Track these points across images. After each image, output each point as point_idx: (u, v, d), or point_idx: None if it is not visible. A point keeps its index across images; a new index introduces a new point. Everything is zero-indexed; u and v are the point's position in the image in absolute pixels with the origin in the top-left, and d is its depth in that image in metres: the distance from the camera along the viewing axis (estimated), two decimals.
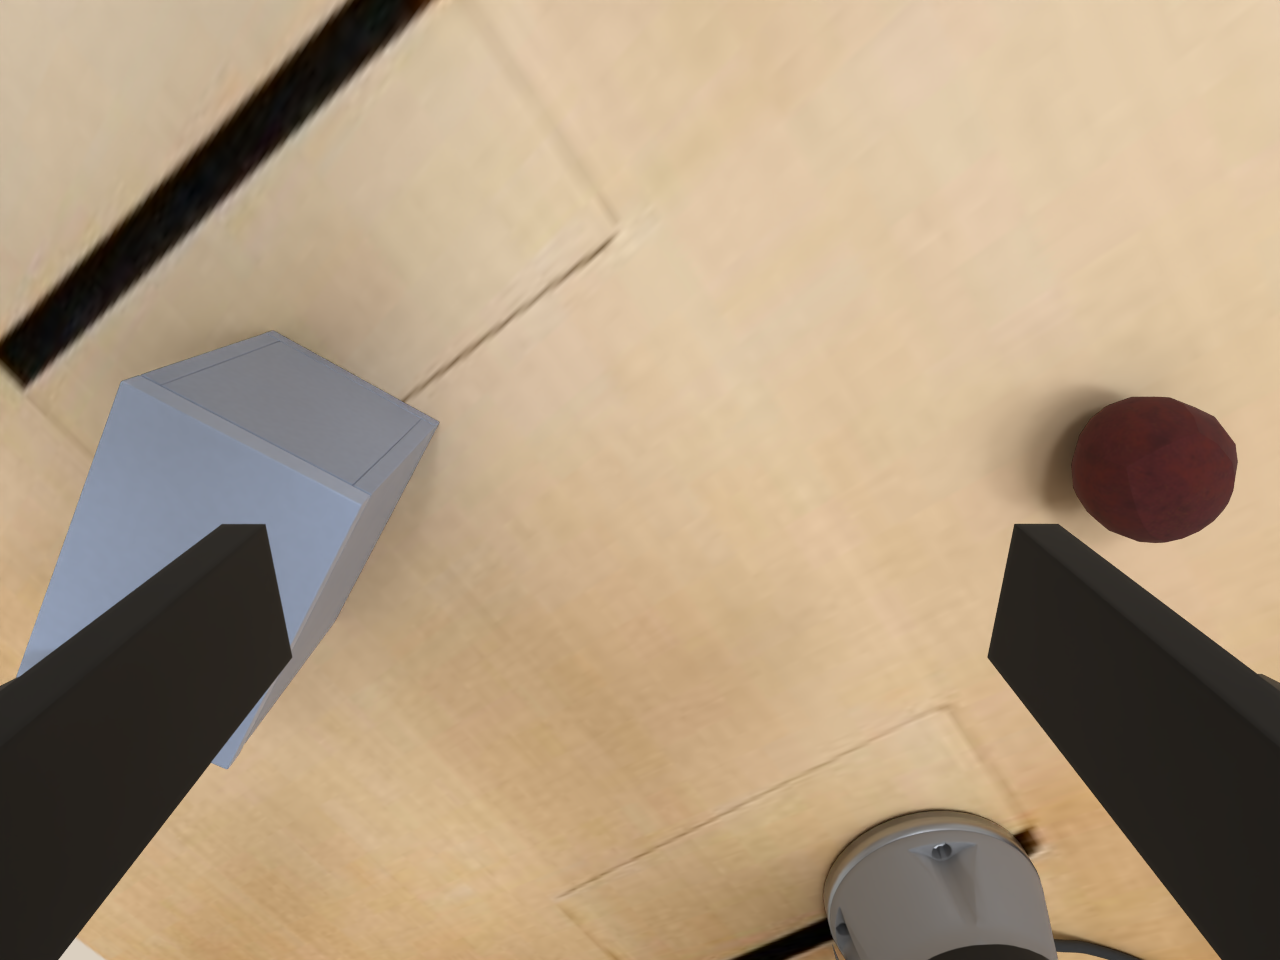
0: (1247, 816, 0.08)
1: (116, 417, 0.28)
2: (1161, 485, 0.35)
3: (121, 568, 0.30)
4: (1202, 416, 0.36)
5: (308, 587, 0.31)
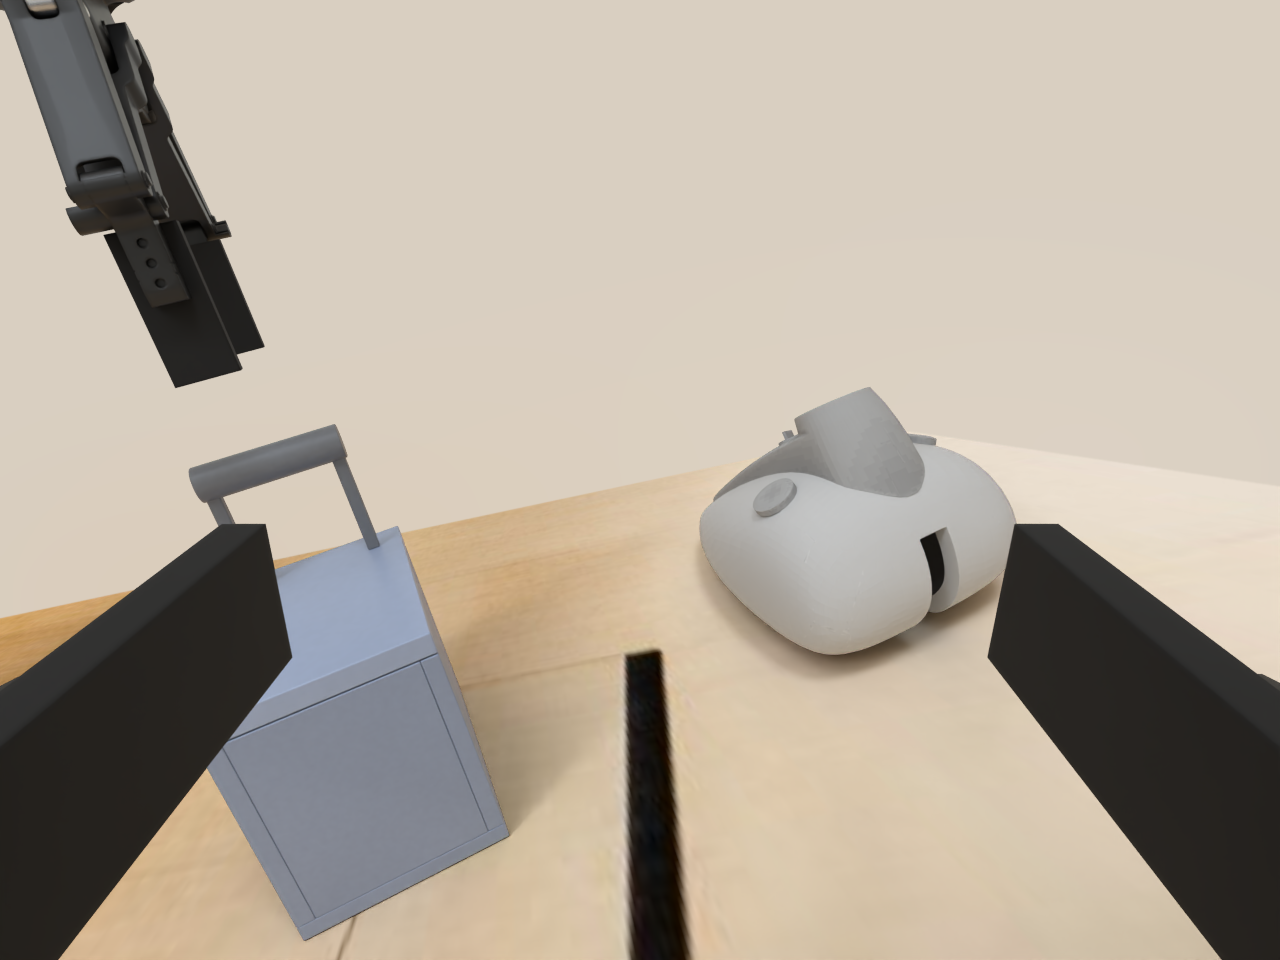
0: (1248, 816, 0.08)
1: (419, 620, 0.33)
2: None
3: (365, 586, 0.38)
4: None
5: None
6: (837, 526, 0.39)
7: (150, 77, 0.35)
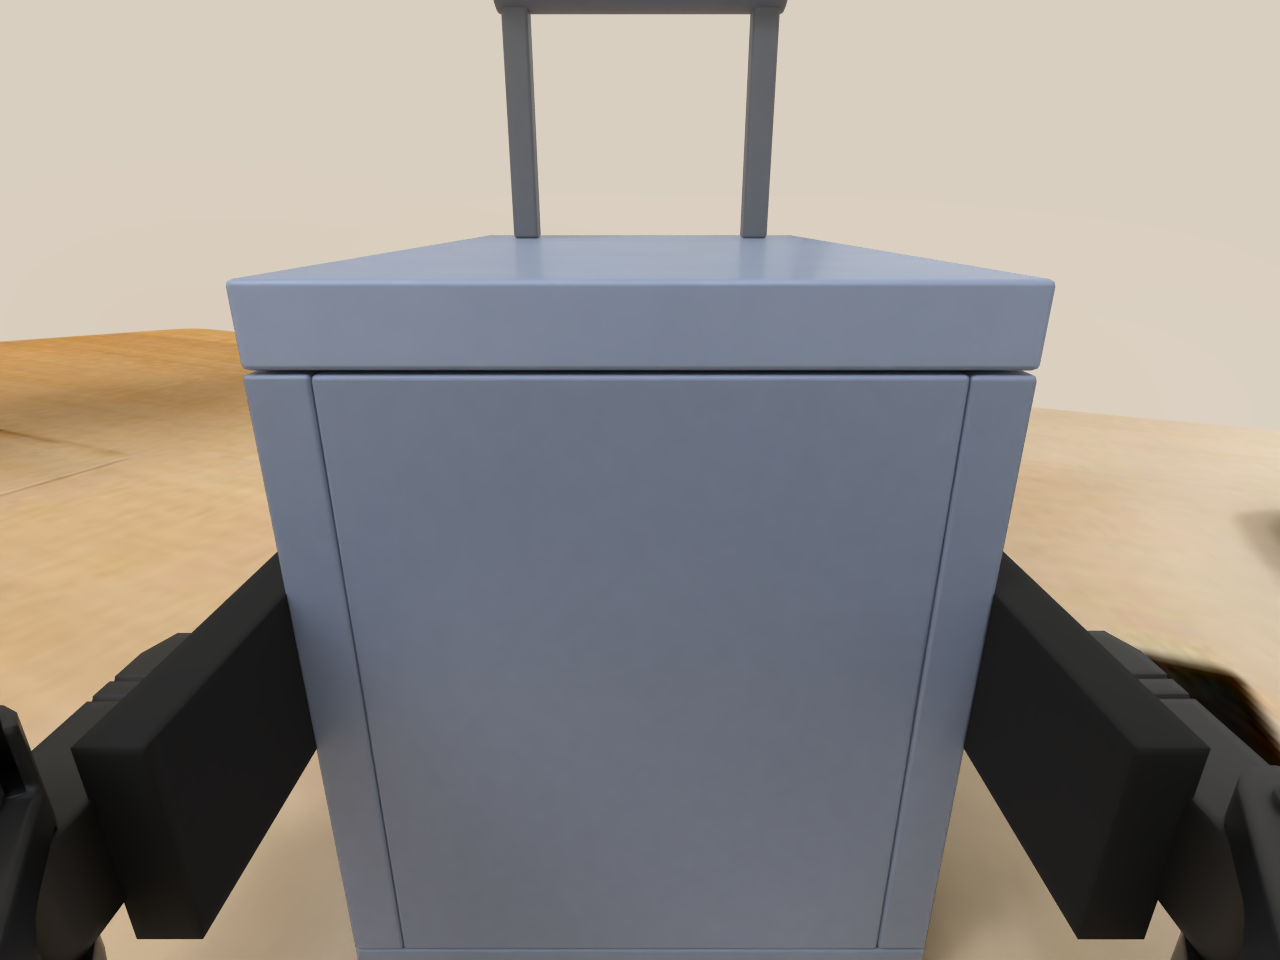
0: (1058, 748, 0.09)
1: (977, 269, 0.10)
2: None
3: (753, 247, 0.16)
4: None
5: (387, 255, 0.13)
6: None
7: None
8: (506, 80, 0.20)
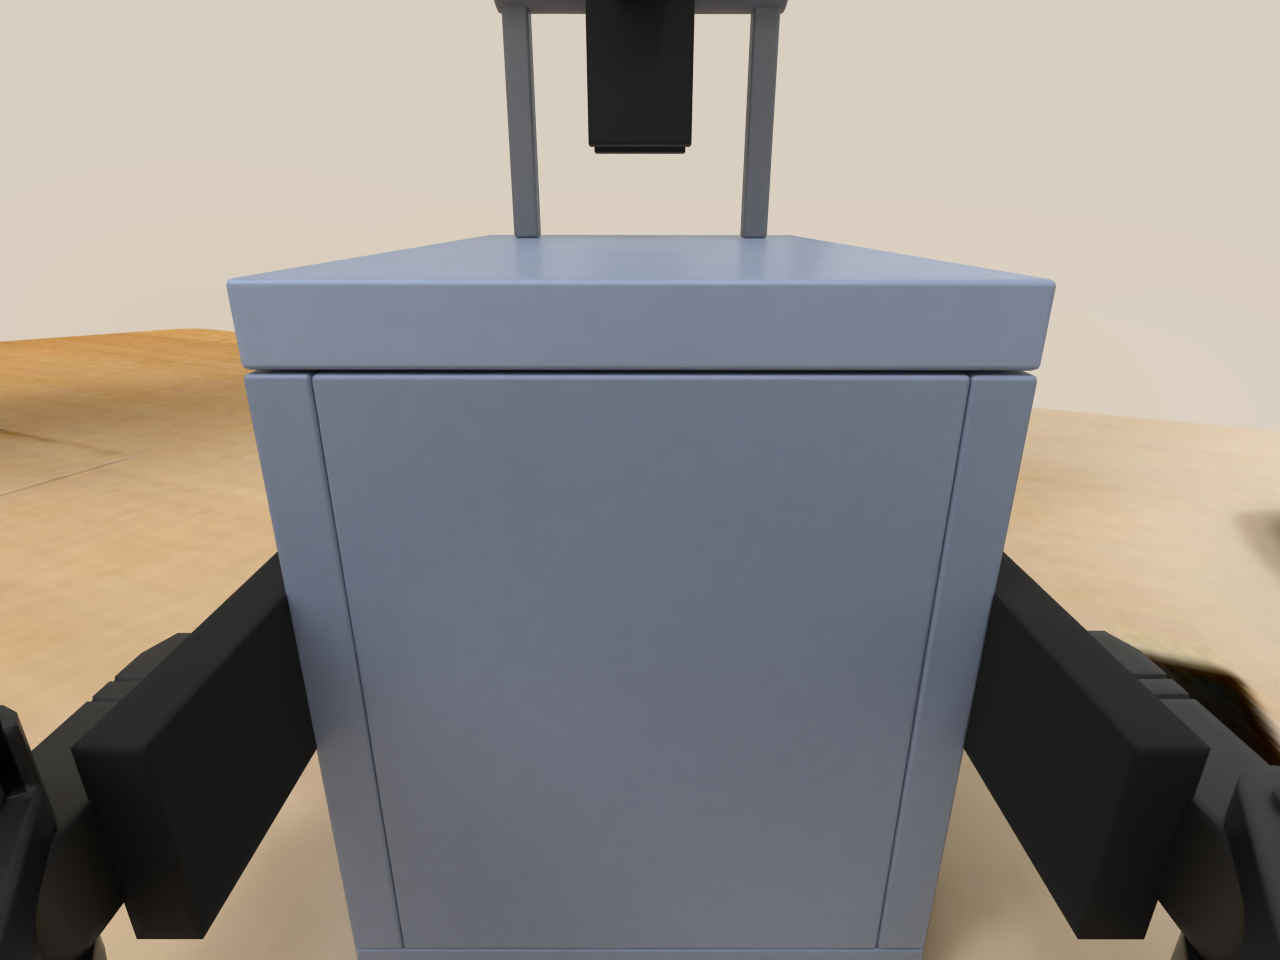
0: (1058, 748, 0.09)
1: (978, 269, 0.10)
2: None
3: (754, 247, 0.16)
4: None
5: (387, 255, 0.13)
6: None
7: None
8: (506, 80, 0.20)
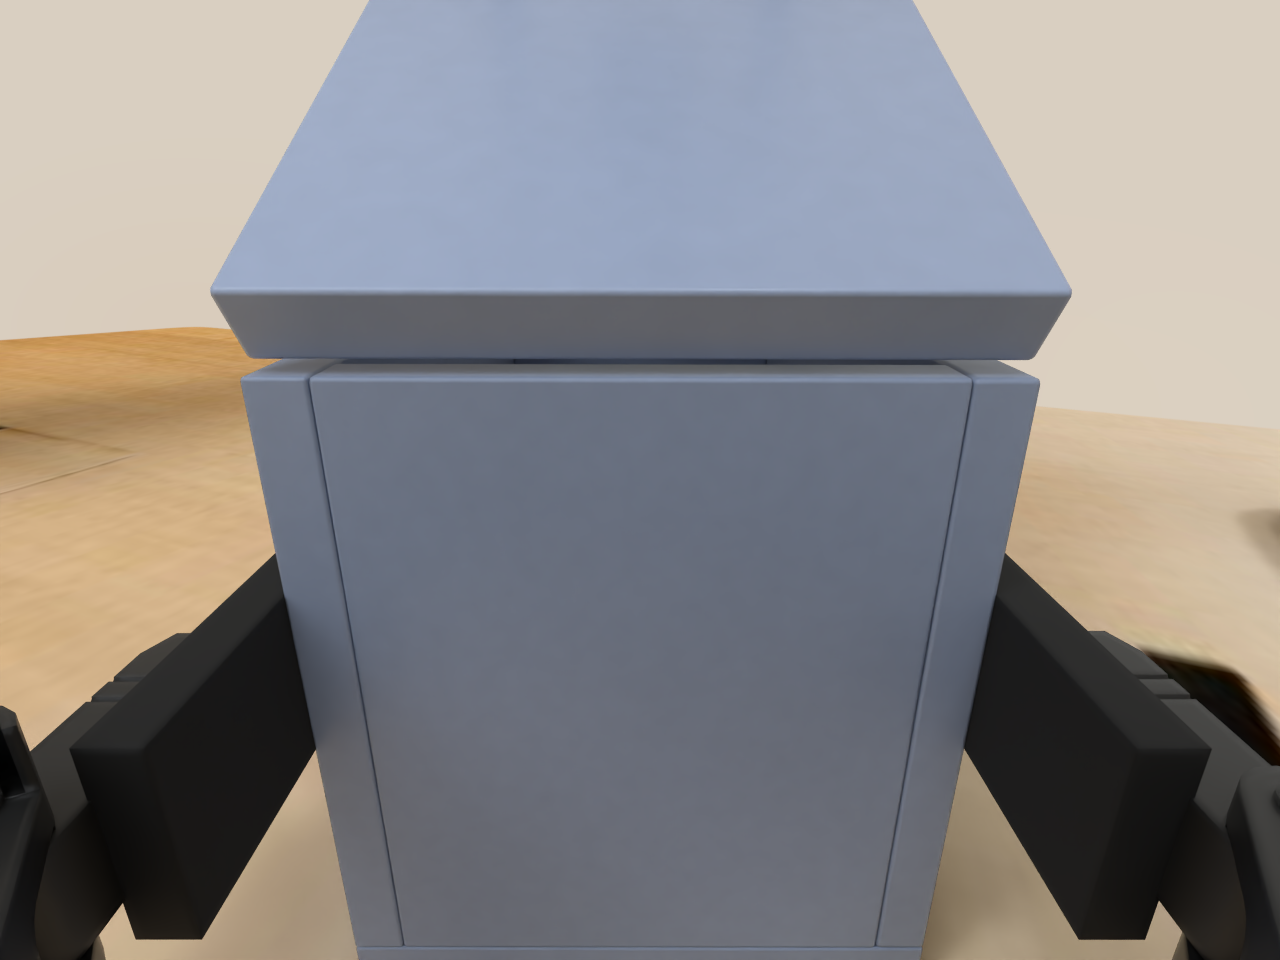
0: (1058, 748, 0.09)
1: (1010, 214, 0.09)
2: None
3: (782, 5, 0.13)
4: None
5: (343, 91, 0.11)
6: None
7: None
8: None
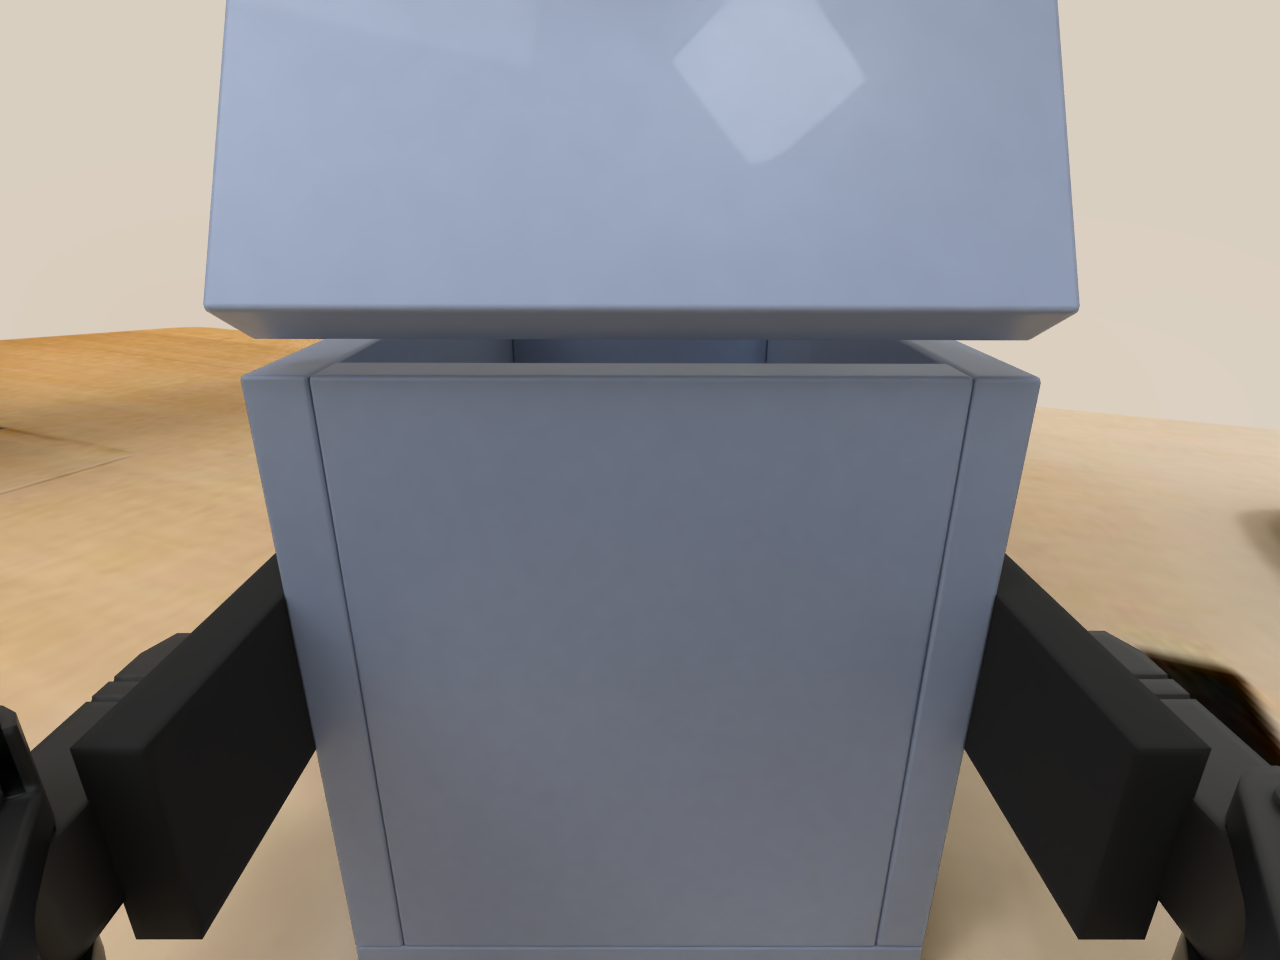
0: (1058, 748, 0.09)
1: (1046, 186, 0.08)
2: None
3: None
4: None
5: None
6: None
7: None
8: None
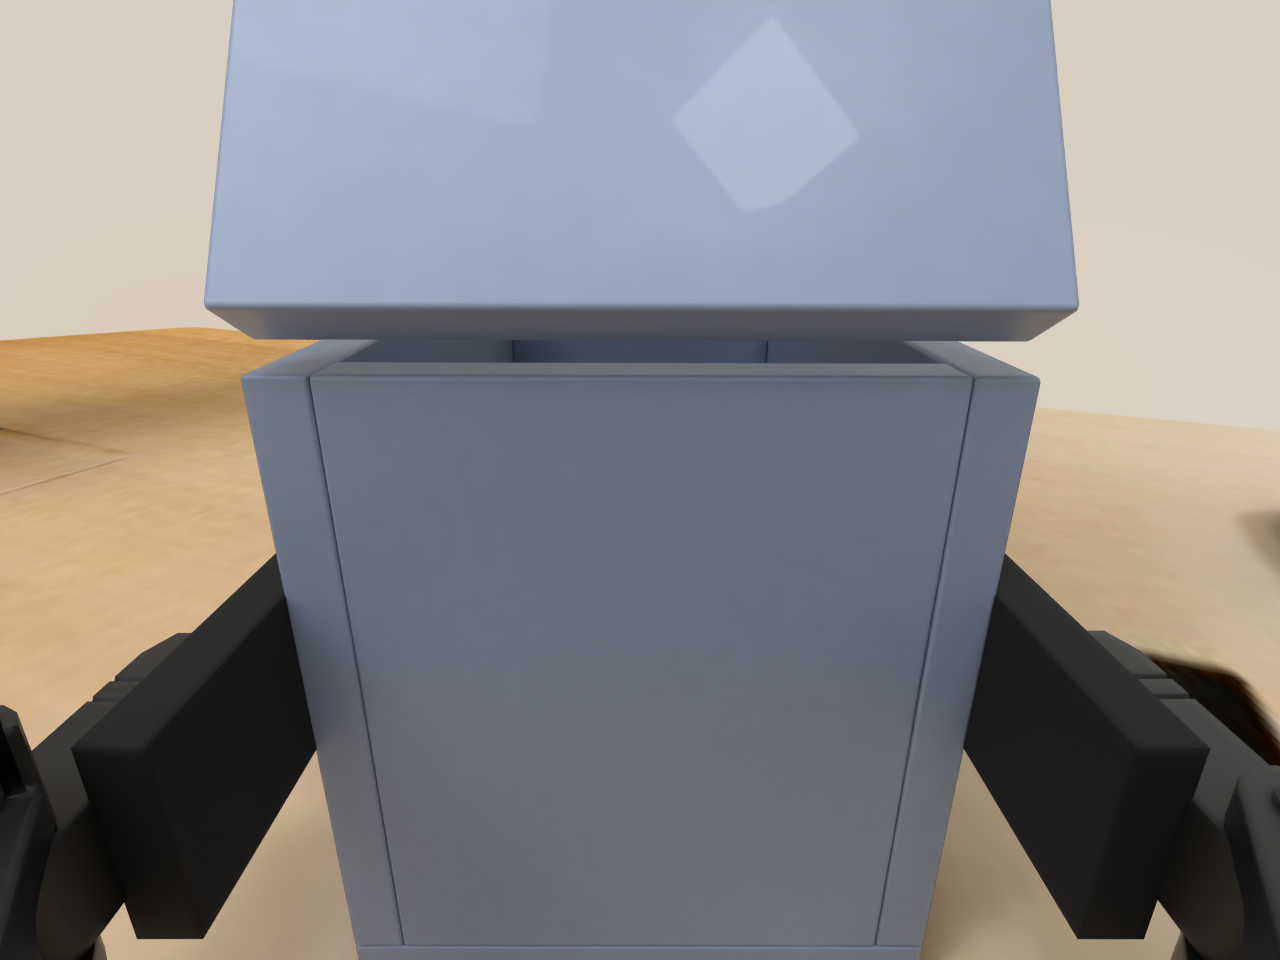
0: (1058, 747, 0.09)
1: (1044, 186, 0.08)
2: None
3: None
4: None
5: None
6: None
7: None
8: None
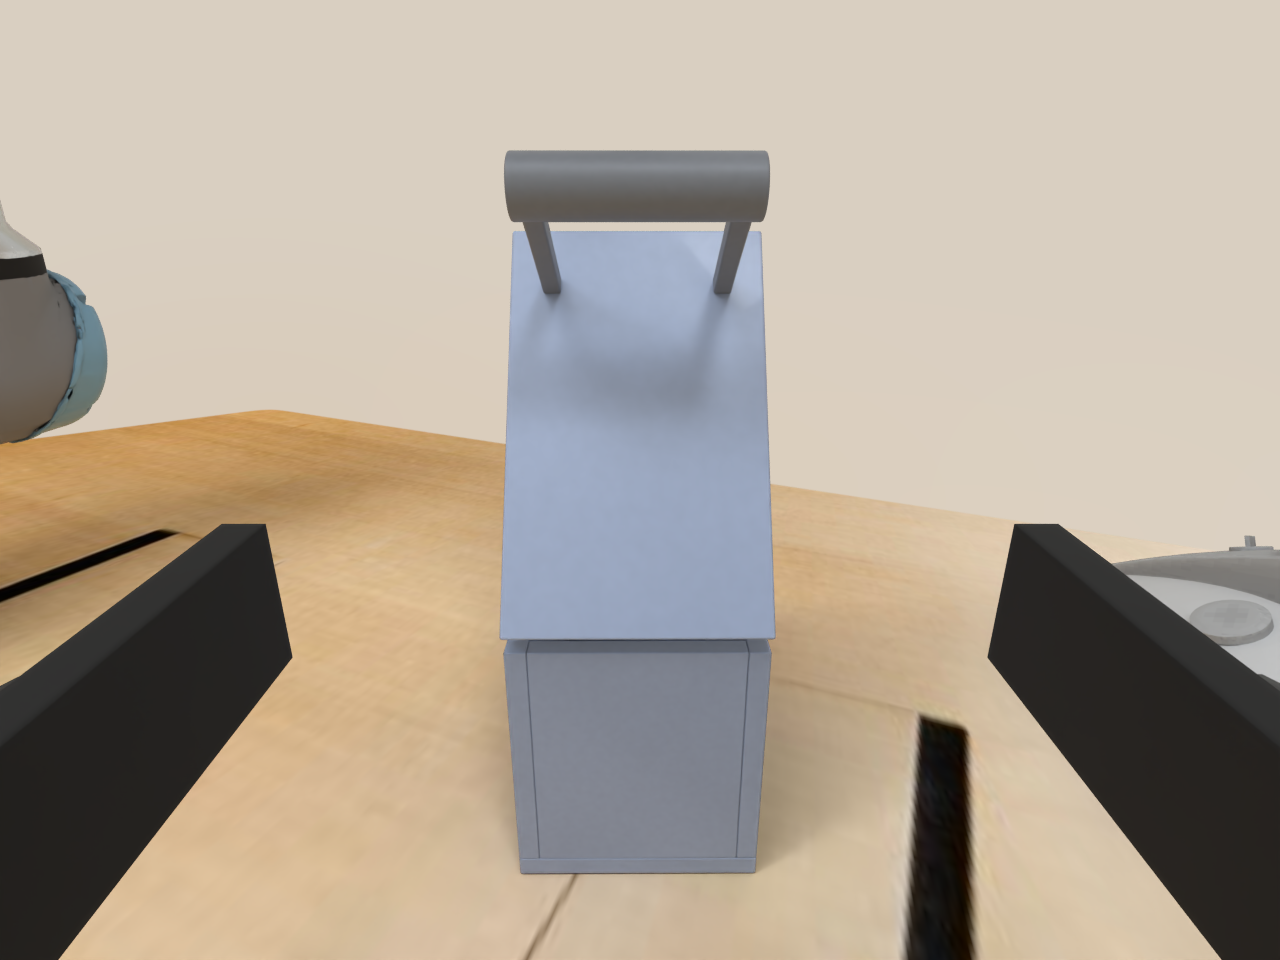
0: (1248, 816, 0.08)
1: (766, 596, 0.26)
2: None
3: (703, 424, 0.27)
4: None
5: (514, 510, 0.27)
6: None
7: None
8: (528, 240, 0.24)
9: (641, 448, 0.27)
